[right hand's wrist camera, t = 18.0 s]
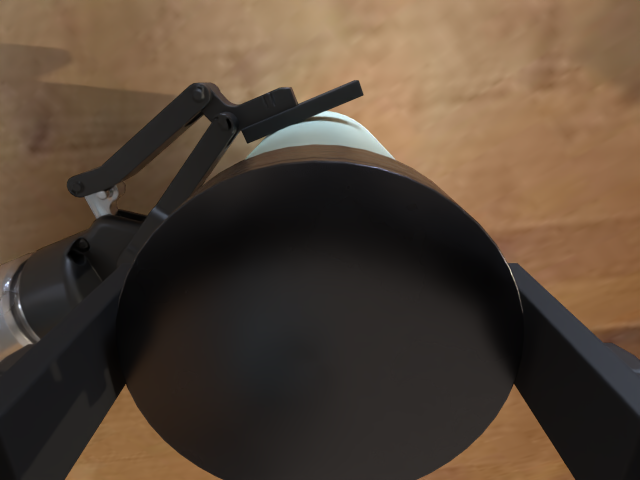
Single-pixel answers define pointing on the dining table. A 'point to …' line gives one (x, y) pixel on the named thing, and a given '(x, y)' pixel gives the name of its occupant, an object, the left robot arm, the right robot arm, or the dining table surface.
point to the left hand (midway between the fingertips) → (389, 178)
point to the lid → (319, 321)
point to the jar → (322, 135)
